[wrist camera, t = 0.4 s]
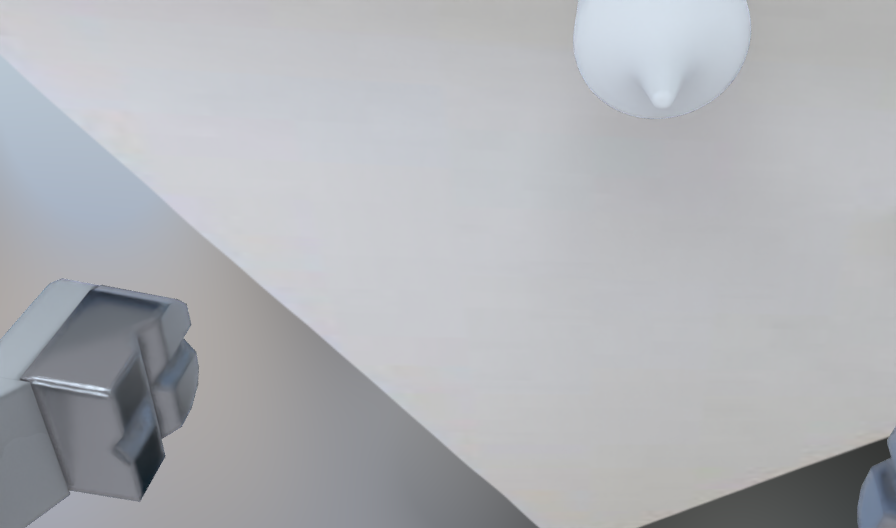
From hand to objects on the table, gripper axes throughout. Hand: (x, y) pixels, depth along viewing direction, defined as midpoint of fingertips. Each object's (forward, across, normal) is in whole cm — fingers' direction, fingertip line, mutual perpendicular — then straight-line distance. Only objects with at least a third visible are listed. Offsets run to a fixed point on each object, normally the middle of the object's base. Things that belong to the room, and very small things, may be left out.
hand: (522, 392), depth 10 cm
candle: (+36, -2, +2) cm, 37 cm away
